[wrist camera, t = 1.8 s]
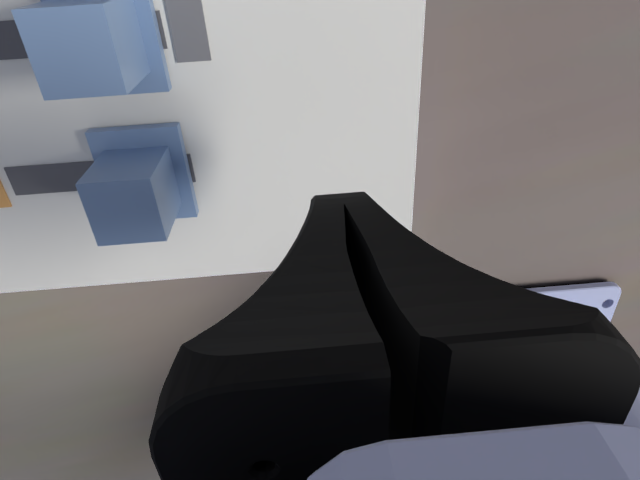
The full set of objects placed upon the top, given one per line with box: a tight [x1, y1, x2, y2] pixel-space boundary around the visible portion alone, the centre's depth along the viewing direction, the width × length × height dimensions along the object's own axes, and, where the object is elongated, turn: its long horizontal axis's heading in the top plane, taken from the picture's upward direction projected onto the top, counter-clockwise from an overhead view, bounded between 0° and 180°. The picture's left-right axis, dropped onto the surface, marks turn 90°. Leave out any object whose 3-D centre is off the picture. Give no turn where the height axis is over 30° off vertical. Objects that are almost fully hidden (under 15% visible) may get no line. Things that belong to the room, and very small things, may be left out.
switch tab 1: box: [11, 0, 172, 101], centre depth 12 cm, size 3×3×3 cm
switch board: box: [0, 0, 426, 293], centre depth 15 cm, size 15×16×2 cm
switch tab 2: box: [75, 122, 199, 246], centre depth 14 cm, size 3×3×3 cm
